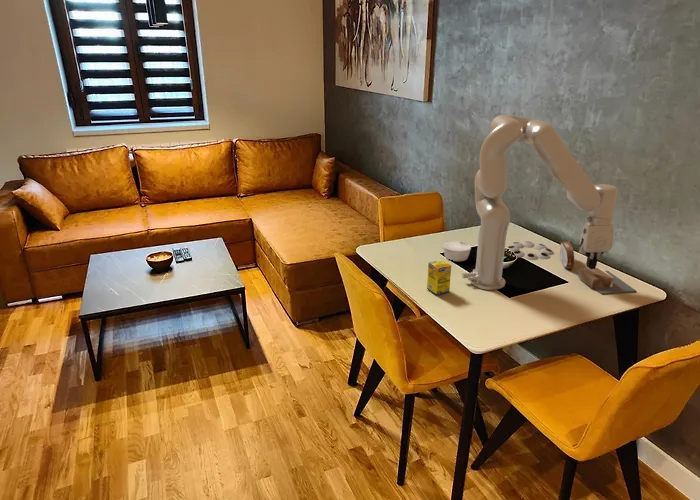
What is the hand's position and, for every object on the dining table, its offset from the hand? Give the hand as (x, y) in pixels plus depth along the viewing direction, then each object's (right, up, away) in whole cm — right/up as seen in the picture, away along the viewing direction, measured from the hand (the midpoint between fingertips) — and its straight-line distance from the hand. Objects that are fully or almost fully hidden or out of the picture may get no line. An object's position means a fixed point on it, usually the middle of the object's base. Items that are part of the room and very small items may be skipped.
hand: (590, 267), depth 178 cm
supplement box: (-56, -9, -1) cm, 56 cm away
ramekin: (-43, +3, +27) cm, 51 cm away
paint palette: (-10, +5, +32) cm, 35 cm away
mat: (+7, -6, +3) cm, 9 cm away
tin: (-1, 0, +19) cm, 19 cm away
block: (-1, -4, +1) cm, 4 cm away
